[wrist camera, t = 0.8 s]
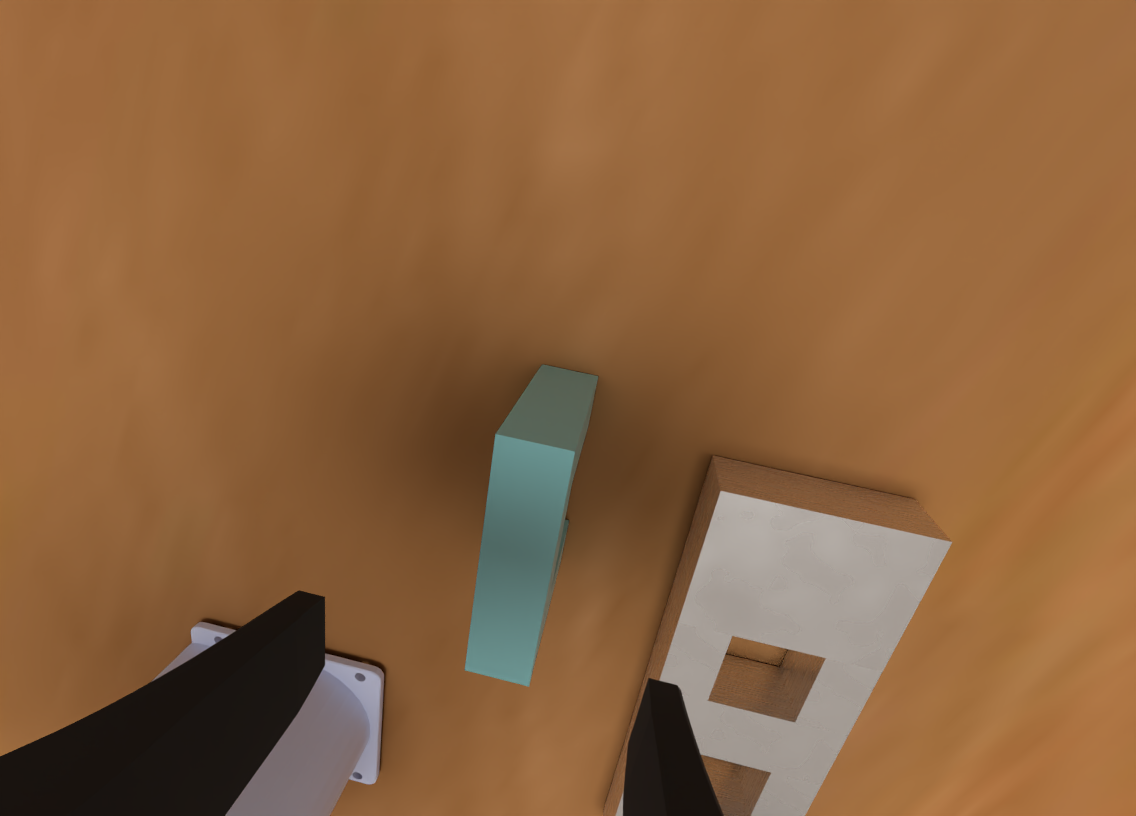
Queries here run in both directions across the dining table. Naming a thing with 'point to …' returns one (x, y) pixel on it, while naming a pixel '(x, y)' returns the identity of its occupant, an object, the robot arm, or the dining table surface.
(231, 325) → the dining table surface
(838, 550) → the white slotted slab
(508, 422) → the teal rectangular plank
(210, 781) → the robot arm
